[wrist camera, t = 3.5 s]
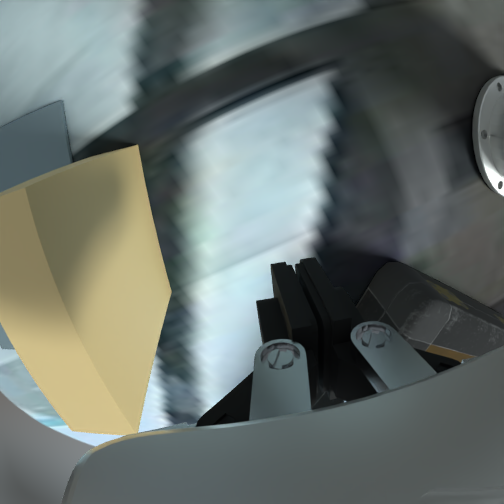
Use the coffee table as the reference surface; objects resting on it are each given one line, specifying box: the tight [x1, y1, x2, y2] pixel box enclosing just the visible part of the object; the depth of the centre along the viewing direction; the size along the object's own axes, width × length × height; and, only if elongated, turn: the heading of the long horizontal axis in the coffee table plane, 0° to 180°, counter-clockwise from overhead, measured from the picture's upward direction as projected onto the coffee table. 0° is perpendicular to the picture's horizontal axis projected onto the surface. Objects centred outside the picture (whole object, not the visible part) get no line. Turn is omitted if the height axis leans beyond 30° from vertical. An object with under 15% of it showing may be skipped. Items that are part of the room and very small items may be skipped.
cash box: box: [311, 262, 504, 410], centre depth 28 cm, size 25×20×8 cm
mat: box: [0, 101, 73, 349], centre depth 22 cm, size 18×22×1 cm
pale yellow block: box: [0, 145, 171, 435], centre depth 16 cm, size 4×12×14 cm, turn 7°
